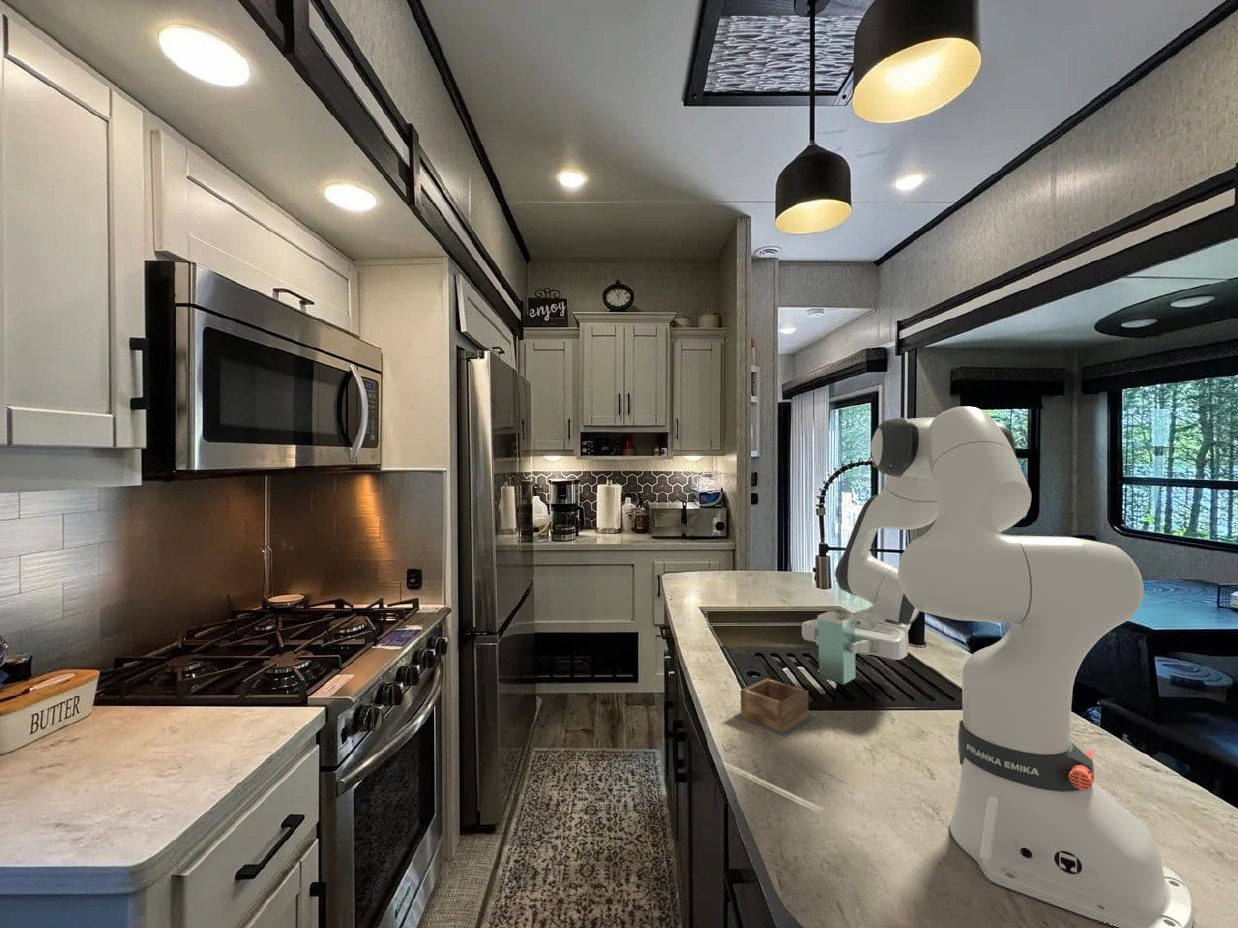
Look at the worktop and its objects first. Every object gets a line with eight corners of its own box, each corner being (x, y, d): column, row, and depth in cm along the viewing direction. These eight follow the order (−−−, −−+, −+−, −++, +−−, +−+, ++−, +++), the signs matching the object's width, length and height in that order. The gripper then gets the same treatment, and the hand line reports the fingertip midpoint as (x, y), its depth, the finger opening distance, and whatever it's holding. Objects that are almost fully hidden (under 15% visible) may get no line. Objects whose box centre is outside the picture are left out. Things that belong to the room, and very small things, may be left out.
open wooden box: (808, 717, 104) (808, 690, 104) (783, 732, 98) (782, 704, 98) (767, 702, 111) (767, 677, 111) (740, 716, 105) (740, 689, 105)
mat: (816, 719, 104) (816, 717, 104) (785, 738, 97) (785, 736, 97) (765, 701, 112) (765, 699, 112) (733, 718, 105) (733, 716, 105)
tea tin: (856, 677, 108) (855, 615, 109) (844, 684, 105) (842, 620, 105) (830, 671, 112) (830, 611, 113) (818, 677, 109) (817, 615, 109)
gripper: (819, 609, 125) (787, 619, 116) (915, 626, 110) (887, 639, 101) (819, 636, 125) (787, 649, 116) (916, 657, 110) (887, 674, 101)
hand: (834, 645), depth 108 cm, fingers closed on tea tin, 5 cm apart
